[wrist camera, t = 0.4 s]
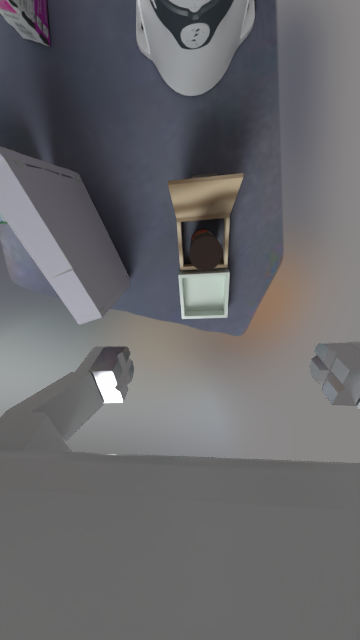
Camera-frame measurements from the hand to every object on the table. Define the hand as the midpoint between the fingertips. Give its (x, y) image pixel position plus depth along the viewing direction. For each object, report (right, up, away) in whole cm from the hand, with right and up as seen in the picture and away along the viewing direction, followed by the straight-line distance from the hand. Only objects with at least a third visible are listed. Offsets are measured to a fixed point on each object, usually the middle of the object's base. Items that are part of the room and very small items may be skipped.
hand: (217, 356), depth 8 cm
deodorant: (+4, +21, +38) cm, 44 cm away
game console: (-22, +23, +39) cm, 50 cm away
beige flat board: (+3, +24, +26) cm, 36 cm away
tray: (+5, +10, +44) cm, 46 cm away
